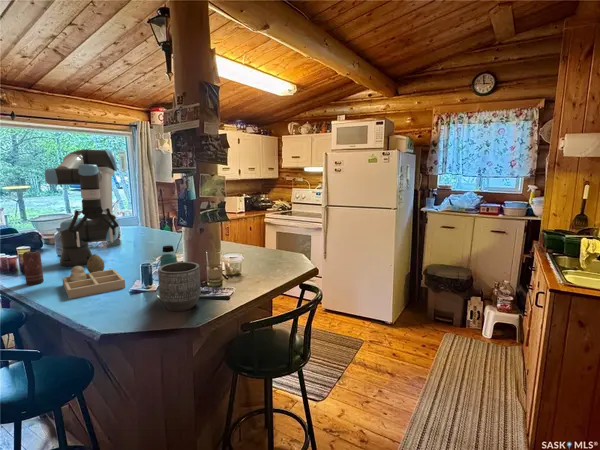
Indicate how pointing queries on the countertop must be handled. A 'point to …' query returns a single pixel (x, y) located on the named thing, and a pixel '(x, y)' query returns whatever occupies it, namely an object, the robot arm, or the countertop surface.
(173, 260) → the beverage bottle
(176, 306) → the planter
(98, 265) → the decorative egg
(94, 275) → the wooden compartment tray
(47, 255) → the countertop surface
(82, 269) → the beige stacked dome figurine
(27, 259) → the can
